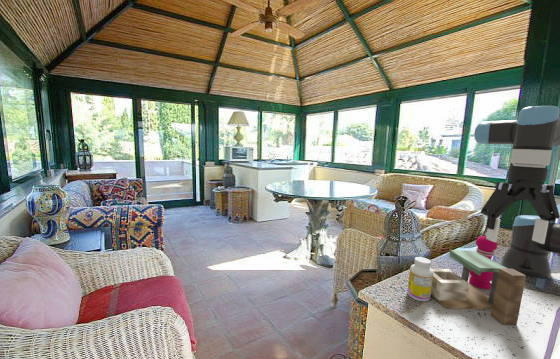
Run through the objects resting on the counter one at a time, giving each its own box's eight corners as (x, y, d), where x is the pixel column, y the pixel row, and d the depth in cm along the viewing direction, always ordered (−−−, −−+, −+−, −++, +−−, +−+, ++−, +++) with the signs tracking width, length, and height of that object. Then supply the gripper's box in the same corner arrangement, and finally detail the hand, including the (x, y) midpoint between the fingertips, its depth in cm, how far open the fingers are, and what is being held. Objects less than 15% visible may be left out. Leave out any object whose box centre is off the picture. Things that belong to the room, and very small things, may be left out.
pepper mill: (497, 291, 89) (506, 237, 86) (473, 288, 90) (482, 234, 87) (484, 281, 96) (493, 230, 93) (463, 278, 97) (471, 228, 94)
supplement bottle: (409, 288, 88) (414, 253, 86) (431, 296, 84) (436, 259, 82) (404, 296, 83) (409, 259, 81) (427, 305, 79) (433, 266, 77)
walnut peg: (503, 315, 76) (512, 268, 74) (516, 325, 72) (526, 275, 70) (490, 315, 75) (499, 268, 73) (503, 324, 71) (512, 275, 69)
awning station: (467, 284, 93) (473, 250, 91) (502, 309, 79) (509, 269, 77) (417, 283, 92) (421, 248, 90) (443, 308, 78) (449, 268, 76)
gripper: (557, 166, 72) (543, 237, 75) (472, 162, 71) (461, 234, 74) (590, 169, 65) (572, 248, 67) (495, 164, 64) (482, 244, 67)
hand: (514, 241), depth 71 cm, fingers open, 13 cm apart
